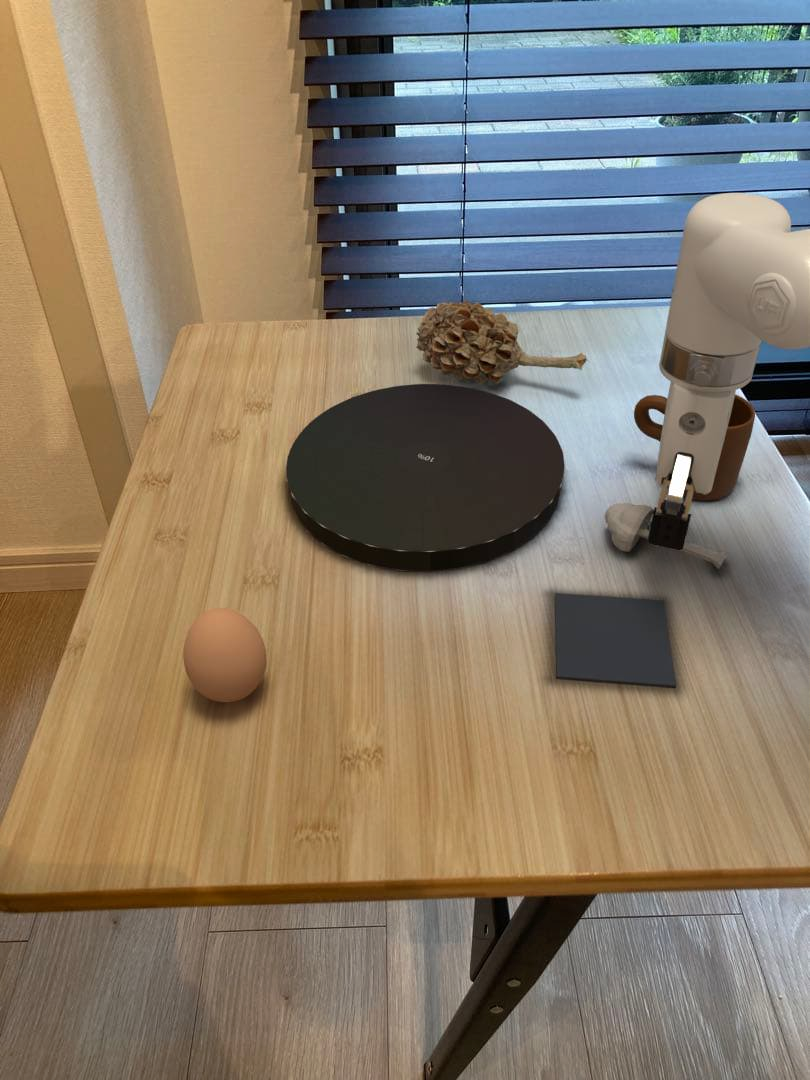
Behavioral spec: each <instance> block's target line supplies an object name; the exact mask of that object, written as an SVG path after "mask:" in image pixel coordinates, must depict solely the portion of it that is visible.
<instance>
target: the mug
mask: <svg viewBox="0 0 810 1080" xmlns="http://www.w3.org/2000/svg"><path fill="white" fill-rule="evenodd" d="M667 398H668V397H666V396H664V395H657V394H651V395H650V394H649V395H645V396H644V397H642V398H640V399H639V400H638V402H637V403H636V404H635V405H634V410H633V419H634V423H635V424H636V427H637V429H638V430H639V431H640V432H641V433H642V434H643V435H645V436H647V437H649V438H650V439H653V440H656V441H658V442H659V443H660V440H661V434H662V427H663V424H661V423H657V422H655V421H654V420H653V419H652V418H651V416H650V410H655V411H658V412H659V413H660V414H662V415H663V416H664V415H665V410H666V404H667ZM755 419H756V411H755V408H754V407H753V405H752V404H751V402H749V401H748V400H747V399H746V398H744V397H742V396H740V395H738V394H736V393H735V397H734V402H733V407H732V411H731V415H730V419H729V423H728V427H727V431H726V435H725V439H724V443H723V447H722V451H721V455H720V459H719V462H718V466H717V470H716V474H715V478H714V482H713V486H712V490H711V491H710V492H709V493H708V494H706V495H704V494H703V493H697V492H696V491H695V490H694V492H693V497H692V500H696V501H697V500H698V501H713V500H719V499H722V498H724V497H726V496H727V495H729V494H730V493H731V492H732V491H733V490H734V488H735V487H736V484H737V481H738V479H739V476H740V473H741V468H742V465H743V462H744V460H745V457H746V453H747V450H748V446H749V443H750V440H751V438H752V433H753V429H754V424H755ZM687 492H688V491H684V494H683V497H686V496H687Z"/></svg>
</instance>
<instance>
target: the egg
mask: <svg viewBox="0 0 810 1080" xmlns="http://www.w3.org/2000/svg"><path fill="white" fill-rule="evenodd" d="M182 654H183V655H182V657H183V664H184V669H185V673H186V675H187V678H188V680H189V681H190V683H191V685H192V686H193V687H194V688H195V689H196V690H197V692H198V693H200V694H201V695H202V696H204V697H206V699H210V700H212V701H215V702H218V703H234V702H237V701H240V700H243V699H245V698H247V697H248V696H249V695H251V694H252V693H253V691H255V690H256V689H257V688H258V687H259V685H260V683H261V682H262V680H263V678H264V676H265V672H266V669H267V650H266V646H265V642H264V639H263V637H262V635H261V633H260V631H259V629H258V628H257V627H256V625H254V624H253V622H251V621H250V620H249V618H247V616H245V615H243V614H242V613H240V612H238V611H237V610H234V609H232V608H228V607H217V608H212V609H209V610H206V611H205V612H203V613H201V614H200V615H199V616H198V617H196V619H195V620H194V621H193V623H191V626H190V627H189V629H188V631H187V633H186V637H185V640H184V644H183V651H182Z"/></svg>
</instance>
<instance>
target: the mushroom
mask: <svg viewBox="0 0 810 1080" xmlns="http://www.w3.org/2000/svg"><path fill="white" fill-rule="evenodd" d="M653 511H654V507H652V506H650V505H647V504H634V503H631V502H624V503H614V504H611V505H610V506H609V507H608V508H607V509H606V511H605V512H604V520H605V523H606V524H607V529H608V530H609V531H610V534H611V535H612V536H611V540H612V543H613V544H614V546H615V547H616V548H617V549H618V550H620V551H622V552H625V553H627V552H631V551H632V550H633V548H634V547H635V545H636V544H637V543H638V541H639V540H640V538H643V539H647V540H648V536H649V531H650V529H646V528H647V526H651V521H652V516H653ZM681 551H684V552H687V553H690V554H692V555H694V556H697V557H699V558H702V559H704V560H706V561H709V562H711V563H712V564H713V566H714V567H715V568H716V569H717V570H720V568H721V567H722V565H723V562H724V560H725V558H726V556H727V551H720V552H719V551H718V552H714V551H712V550H710V549H706V548H703V547H701V546H698V545H696V544H693V543H690V542H687V541H685V543H684V547H683V549H682V550H681Z"/></svg>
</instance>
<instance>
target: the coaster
mask: <svg viewBox="0 0 810 1080" xmlns="http://www.w3.org/2000/svg"><path fill="white" fill-rule="evenodd" d="M554 617H555V618H554V620H555V621H554V623H555V667H556V669H555V676H556V677H555V678H556V679H559V680H560V679H561V680H571V681H572V680H573V681H586V682H598V683H609V684H624V685H638V686H651V687H663V688H677V679H676V673H675V667H674V660H673V652H672V646H671V640H670V632H669V627H668V620H667V614H666V606H665V600H664V599H649V598H636V597H623V596H622V597H621V596H605V595H590V594H576V593H574V594H573V593H562V592H561V593H560V592H555V593H554Z"/></svg>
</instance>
